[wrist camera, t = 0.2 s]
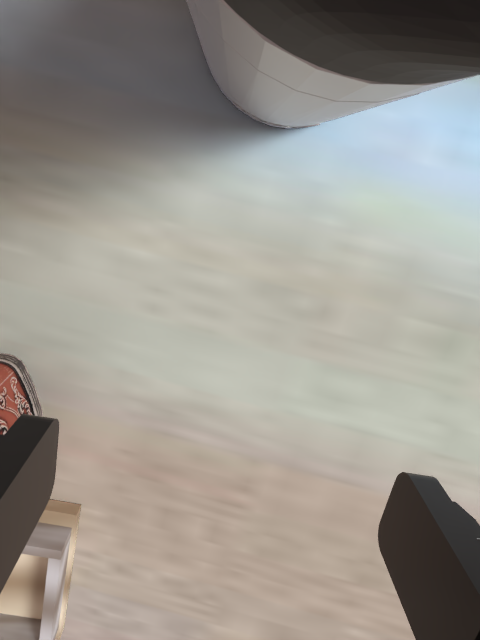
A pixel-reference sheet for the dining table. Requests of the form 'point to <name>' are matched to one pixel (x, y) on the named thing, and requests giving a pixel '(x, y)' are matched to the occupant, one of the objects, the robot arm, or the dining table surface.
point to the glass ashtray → (41, 577)
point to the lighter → (16, 392)
